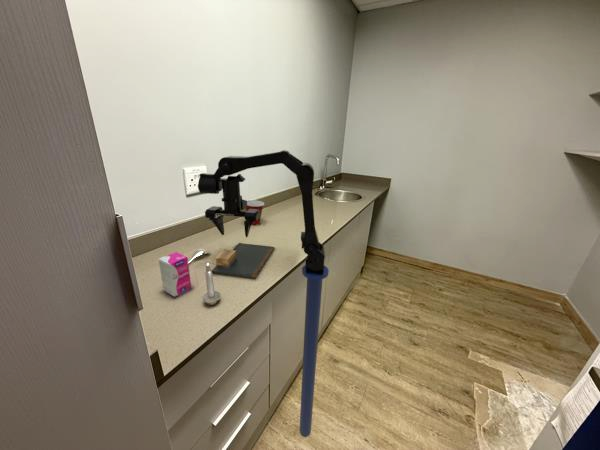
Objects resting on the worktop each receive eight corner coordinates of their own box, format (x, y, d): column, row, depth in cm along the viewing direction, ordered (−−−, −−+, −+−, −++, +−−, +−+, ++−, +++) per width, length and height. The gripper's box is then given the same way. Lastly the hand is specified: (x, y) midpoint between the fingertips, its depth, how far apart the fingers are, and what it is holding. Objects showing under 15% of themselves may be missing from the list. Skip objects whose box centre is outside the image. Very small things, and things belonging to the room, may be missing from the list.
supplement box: (175, 298, 71) (169, 264, 67) (163, 291, 74) (157, 258, 70) (192, 288, 76) (187, 256, 72) (180, 282, 79) (175, 251, 75)
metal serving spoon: (167, 268, 79) (157, 265, 81) (168, 278, 80) (158, 274, 82) (211, 248, 97) (202, 245, 98) (212, 256, 98) (203, 253, 99)
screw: (213, 309, 67) (199, 305, 69) (224, 299, 71) (211, 295, 73) (208, 268, 63) (193, 265, 64) (220, 260, 67) (206, 257, 68)
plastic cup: (263, 227, 128) (262, 205, 124) (242, 226, 128) (241, 204, 124) (266, 220, 138) (265, 200, 134) (247, 219, 138) (246, 199, 134)
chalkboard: (274, 248, 104) (274, 246, 104) (255, 279, 82) (255, 276, 81) (239, 245, 106) (239, 242, 106) (211, 273, 84) (211, 271, 84)
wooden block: (236, 259, 92) (236, 250, 91) (228, 269, 85) (227, 259, 84) (225, 258, 93) (224, 249, 91) (216, 267, 86) (215, 257, 85)
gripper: (264, 190, 89) (265, 229, 95) (217, 188, 92) (221, 226, 97) (254, 197, 79) (256, 241, 84) (201, 194, 82) (206, 236, 87)
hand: (234, 235), depth 89 cm, fingers open, 9 cm apart
